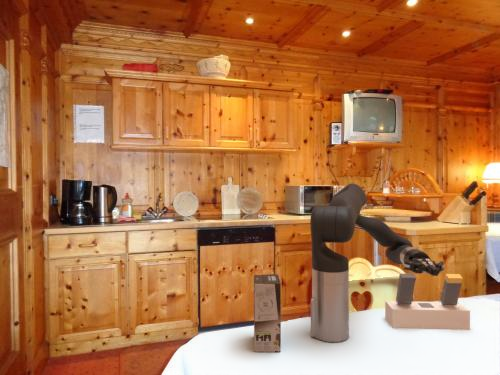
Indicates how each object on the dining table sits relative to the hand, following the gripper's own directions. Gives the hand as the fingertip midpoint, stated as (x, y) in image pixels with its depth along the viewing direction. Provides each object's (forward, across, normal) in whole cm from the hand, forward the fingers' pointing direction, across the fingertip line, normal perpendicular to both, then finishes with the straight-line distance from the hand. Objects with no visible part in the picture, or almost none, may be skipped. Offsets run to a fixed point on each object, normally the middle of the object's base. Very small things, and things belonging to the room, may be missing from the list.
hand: (435, 272), depth 111 cm
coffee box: (+24, -50, +12) cm, 56 cm away
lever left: (+9, -12, +6) cm, 16 cm away
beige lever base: (+9, -6, +12) cm, 16 cm away
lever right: (+9, 0, +6) cm, 11 cm away
